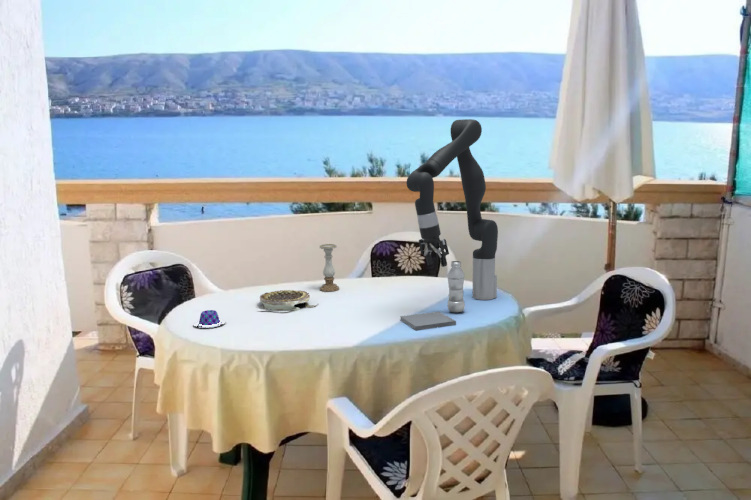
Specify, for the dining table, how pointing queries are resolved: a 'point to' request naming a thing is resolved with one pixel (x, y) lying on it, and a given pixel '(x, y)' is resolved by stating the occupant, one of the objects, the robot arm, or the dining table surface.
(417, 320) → the slate tile
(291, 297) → the pie
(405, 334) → the dining table surface
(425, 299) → the dining table surface
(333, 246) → the candle holder
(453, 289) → the plastic bottle
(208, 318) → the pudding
